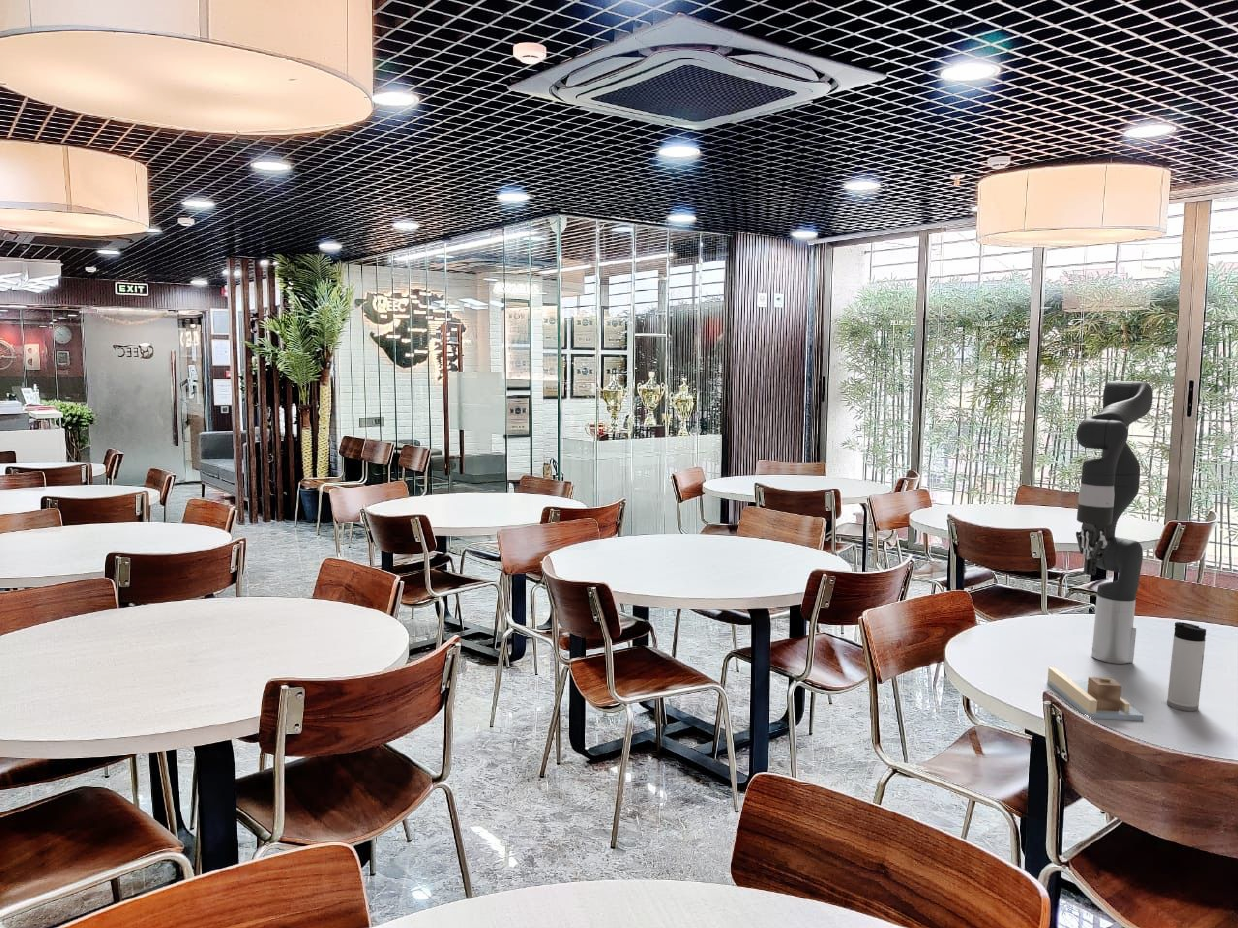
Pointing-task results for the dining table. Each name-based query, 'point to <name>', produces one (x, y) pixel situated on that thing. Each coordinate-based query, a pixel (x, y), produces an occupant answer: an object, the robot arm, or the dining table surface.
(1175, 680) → the travel mug
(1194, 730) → the dining table surface
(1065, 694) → the board
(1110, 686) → the walnut box
